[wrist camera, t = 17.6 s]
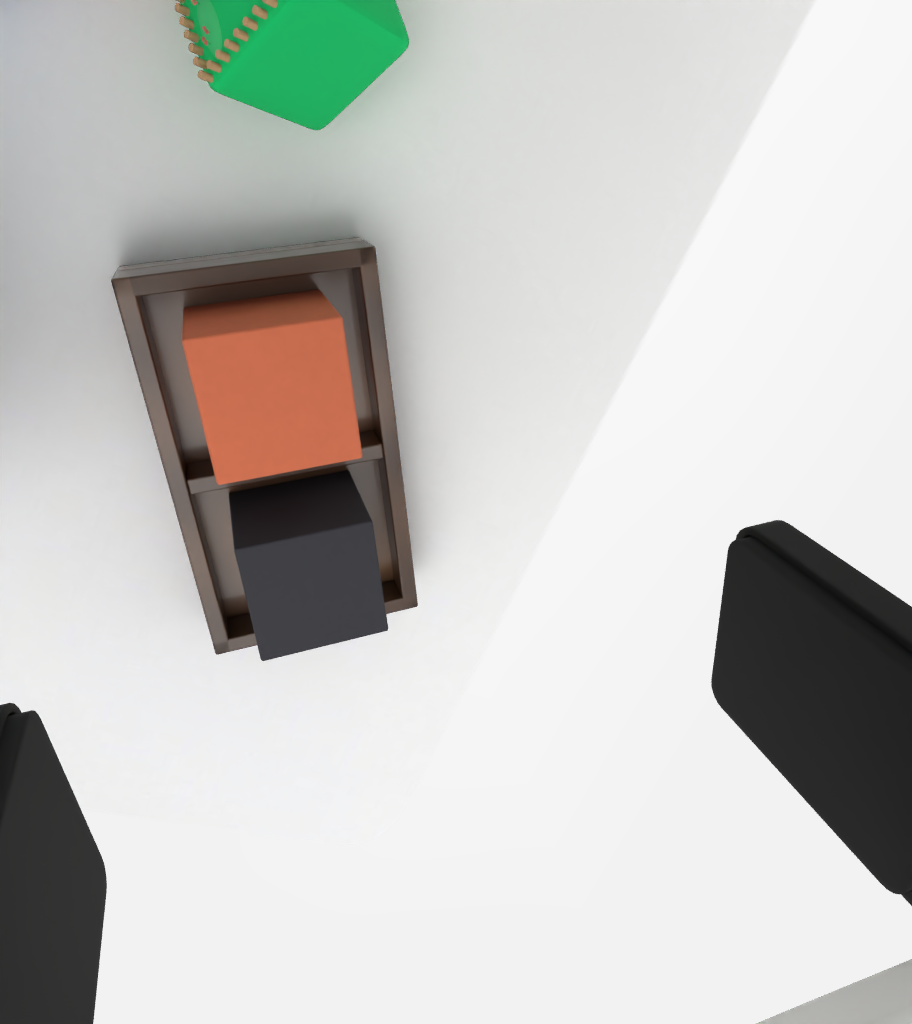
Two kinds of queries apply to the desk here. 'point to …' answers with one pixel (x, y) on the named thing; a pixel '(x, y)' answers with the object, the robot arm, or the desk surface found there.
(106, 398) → the desk surface
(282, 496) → the charcoal cube
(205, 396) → the orange cube
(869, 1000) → the robot arm
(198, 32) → the building blocks
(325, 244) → the divided wooden tray
